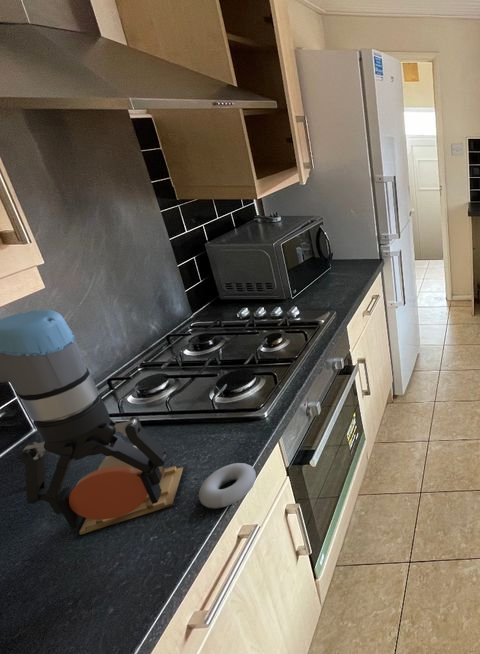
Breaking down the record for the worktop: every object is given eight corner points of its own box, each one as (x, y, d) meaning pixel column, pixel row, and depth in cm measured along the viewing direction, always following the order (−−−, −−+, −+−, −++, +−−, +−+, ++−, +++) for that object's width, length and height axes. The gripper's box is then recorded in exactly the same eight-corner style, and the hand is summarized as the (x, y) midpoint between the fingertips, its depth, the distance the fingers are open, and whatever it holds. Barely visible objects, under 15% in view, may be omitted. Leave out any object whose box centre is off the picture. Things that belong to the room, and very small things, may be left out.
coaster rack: (80, 534, 77) (76, 528, 77) (100, 493, 86) (97, 486, 85) (172, 505, 83) (169, 499, 83) (183, 468, 92) (180, 462, 91)
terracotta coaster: (82, 528, 70) (57, 485, 66) (85, 522, 71) (61, 480, 67) (156, 504, 74) (136, 463, 70) (157, 499, 75) (138, 458, 71)
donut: (252, 463, 93) (198, 487, 87) (249, 452, 92) (193, 475, 86) (262, 493, 86) (203, 522, 80) (258, 481, 85) (199, 509, 79)
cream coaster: (107, 497, 84) (89, 459, 80) (109, 492, 85) (91, 455, 81) (168, 479, 88) (153, 443, 85) (169, 475, 89) (155, 439, 86)
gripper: (164, 374, 72) (200, 469, 80) (-22, 414, 62) (41, 517, 71) (152, 399, 65) (193, 500, 74) (-57, 448, 56) (17, 557, 65)
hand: (119, 509), depth 72 cm, fingers closed on terracotta coaster, 10 cm apart
